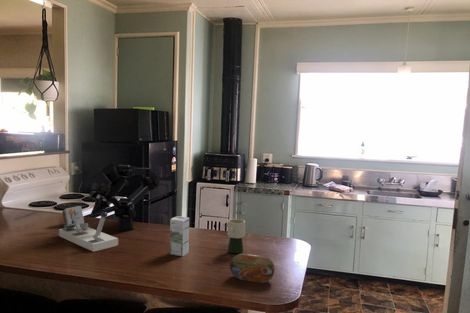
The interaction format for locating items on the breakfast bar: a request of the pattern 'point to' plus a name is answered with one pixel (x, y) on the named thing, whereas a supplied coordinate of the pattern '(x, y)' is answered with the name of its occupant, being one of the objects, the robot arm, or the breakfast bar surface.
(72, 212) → the copper ball joystick
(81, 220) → the electrical switch
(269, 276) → the tin
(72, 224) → the block
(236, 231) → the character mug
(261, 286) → the breakfast bar surface
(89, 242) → the control panel
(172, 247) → the syrup box
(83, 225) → the push button
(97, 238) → the lever
